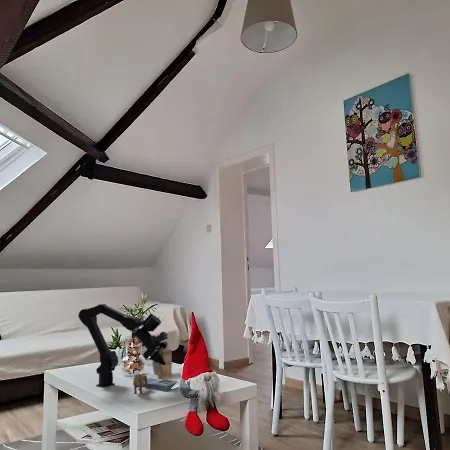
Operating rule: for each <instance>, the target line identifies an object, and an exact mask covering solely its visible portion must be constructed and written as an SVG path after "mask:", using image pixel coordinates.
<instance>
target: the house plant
mask: <svg viewBox="0 0 450 450" xmlns="http://www.w3.org/2000/svg"><path fill="white" fill-rule="evenodd" d="M171 346H172V347H173V345H170V346H167V349H171ZM151 364H152V370H153V374H154V375H158V363H157V362H155V361H152V360H151Z"/></svg>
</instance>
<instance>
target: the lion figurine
mask: <svg viewBox="0 0 450 450" xmlns="http://www.w3.org/2000/svg"><path fill="white" fill-rule="evenodd" d="M147 379H148V377H147V375H146V374H141V373H136V374H135V375H134V377H133V380H132V385H133V389H134V392H133V395H137V392H138V391H139V394H140V395H143V388H145V385H147V387H146V388H145V389H146V390H148V389H149V388H148V383H147ZM144 382H145V385H144V387H142V384H143V383H144Z"/></svg>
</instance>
